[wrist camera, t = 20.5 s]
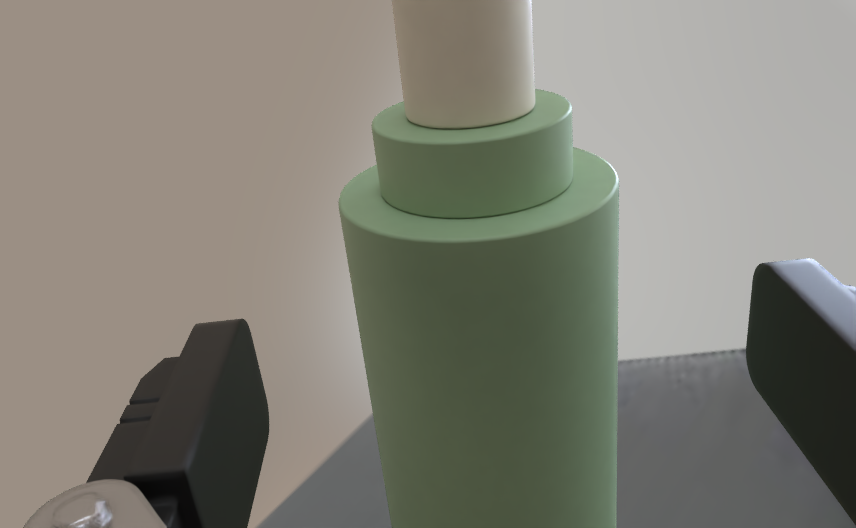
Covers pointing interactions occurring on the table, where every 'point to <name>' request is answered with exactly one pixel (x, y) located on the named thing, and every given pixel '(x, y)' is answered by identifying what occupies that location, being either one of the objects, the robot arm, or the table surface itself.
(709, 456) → the table surface
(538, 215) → the bottle
